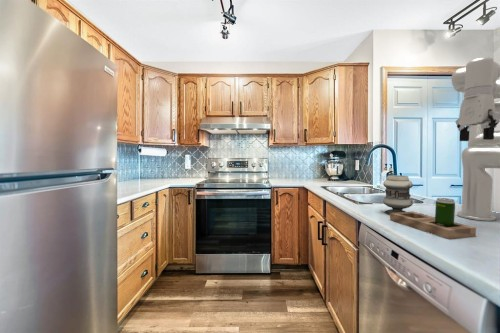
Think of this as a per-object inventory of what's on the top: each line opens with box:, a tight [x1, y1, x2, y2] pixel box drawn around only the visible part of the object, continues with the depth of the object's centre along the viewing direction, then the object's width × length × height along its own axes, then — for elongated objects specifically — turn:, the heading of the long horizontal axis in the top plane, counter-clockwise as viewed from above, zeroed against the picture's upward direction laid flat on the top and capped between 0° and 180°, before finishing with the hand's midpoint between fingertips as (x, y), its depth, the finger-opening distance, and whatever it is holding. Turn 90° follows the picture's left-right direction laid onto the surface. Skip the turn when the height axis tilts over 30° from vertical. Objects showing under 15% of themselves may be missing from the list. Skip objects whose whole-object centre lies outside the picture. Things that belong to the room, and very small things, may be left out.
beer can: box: [434, 197, 456, 228], centre depth 87 cm, size 5×5×12 cm
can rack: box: [389, 211, 477, 240], centre depth 93 cm, size 24×12×3 cm, turn 14°
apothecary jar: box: [382, 174, 414, 215], centre depth 114 cm, size 12×12×18 cm
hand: (475, 140), depth 90 cm, fingers open, 9 cm apart
